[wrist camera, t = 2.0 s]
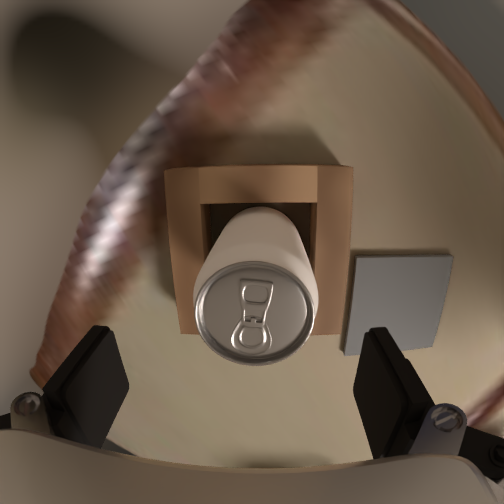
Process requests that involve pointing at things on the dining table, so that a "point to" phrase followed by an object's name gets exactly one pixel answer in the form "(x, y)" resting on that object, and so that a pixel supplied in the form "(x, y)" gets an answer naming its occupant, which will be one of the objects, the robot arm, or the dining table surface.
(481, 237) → the dining table surface
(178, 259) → the pocket block
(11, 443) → the robot arm
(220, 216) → the dining table surface
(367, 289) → the coaster
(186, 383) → the dining table surface
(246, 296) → the can
